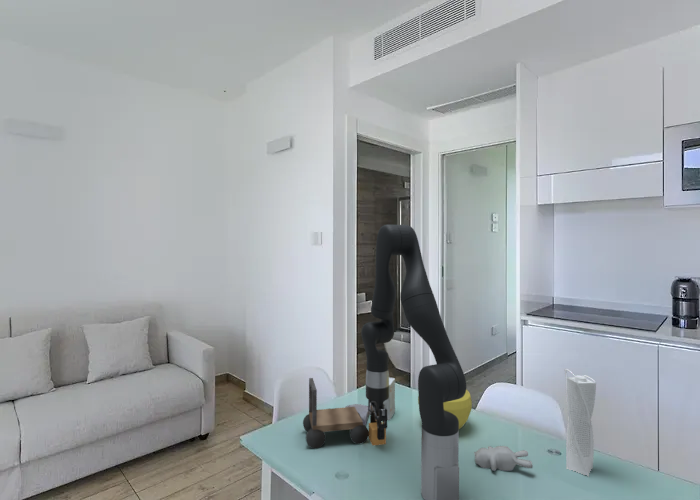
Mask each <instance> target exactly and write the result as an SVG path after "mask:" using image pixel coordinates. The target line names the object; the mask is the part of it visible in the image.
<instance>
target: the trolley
mask: <svg viewBox="0 0 700 500" xmlns="http://www.w3.org/2000/svg"><path fill="white" fill-rule="evenodd" d="M317 393H318V390H317V387H316V384H315V380H314V378H313V377H309V378H308V413H307V414H306V415H305V416H304V418H303V420H302V425H303V429H304V430H305V431H306V434H305V435H306V436H305V439H306V444H307V446H308V447H310V448H311V449H319V448H322V446H323V445H324V444H325V442H326V434H325V432H334V431H335V432H336V431H346V430H347V431H348V430H349V438H350V439H351V441H352V442H353V443H354V444H356V445H361V444H363V443H365V442H367V440H369V428H368V427H367V425H364V424H363V421H362V419H361V416H360V414H359V413H358V412H357V410H356V408H355V407H346V406H345V407H336V408H334V407H333V408H325V409H324V408H322V409H317V408H318V406H317V404H318V403H317V402H318V401H317V400H318V399H317V398H318V397H317V396H318V395H317Z"/></svg>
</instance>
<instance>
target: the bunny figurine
mask: <svg viewBox="0 0 700 500" xmlns="http://www.w3.org/2000/svg"><path fill="white" fill-rule="evenodd" d="M473 454H474V462H475V465H478V466H479V467H481V468H482V469H491V471H494V472H496V470H497V469H498V470H499V471H504V472H507V471H508V472H510V471H513V470H514V468H515V467H516V465H517V466H520V467H523V468H526V469H533V467H534V466H533V465H534V464H533V462H532V460H528V459H523V458H524V457H528V456H529V452H528V451H527V450H524V449H522V450H519V451H516V452H514V451H513V450H512V449H511V448H510V447H509V446H507V445H498V446H494V447H492V445H488V446H487V447H480V448H478V449H477V450H476V451H473ZM522 457H523V458H522Z"/></svg>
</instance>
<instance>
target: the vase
mask: <svg viewBox="0 0 700 500" xmlns="http://www.w3.org/2000/svg"><path fill="white" fill-rule="evenodd" d="M472 404H473V402H472V396H471V393H470V392H469V390H468V389H467V388H466V393H465V395H464V396H463V397H462V398H460V399H457V400H452V401H448V402H444V403H443V405H444V410H445V411H448V412H450V413H452V414H454V415H455V416H456V417H457V418H458V421H459V430H460V429H461V428H463V427H464V425H465V424H466V423H467V422H468V421H469V418H470V415H471V411H472V410H473V409H472V408H473V407H472V406H473V405H472ZM417 405H419V395H418V396H417Z"/></svg>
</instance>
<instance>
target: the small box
mask: <svg viewBox="0 0 700 500" xmlns="http://www.w3.org/2000/svg"><path fill="white" fill-rule="evenodd" d="M395 400H396V378H394V377H389V398H388V399H387V400H385V401H384V402H383V404H384V405H385V408H387V421H391V419H392V418H393V415H394V414H395V412H396V401H395ZM377 417H379V416H377Z"/></svg>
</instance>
